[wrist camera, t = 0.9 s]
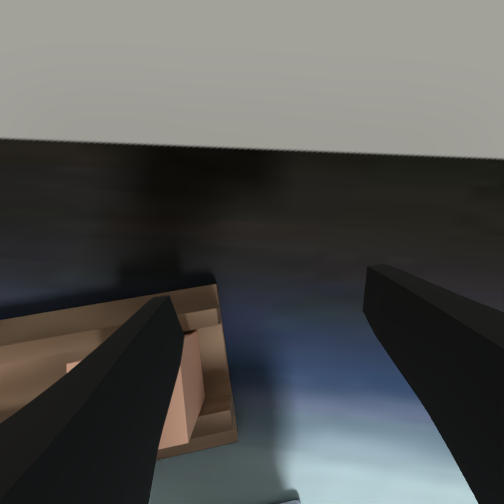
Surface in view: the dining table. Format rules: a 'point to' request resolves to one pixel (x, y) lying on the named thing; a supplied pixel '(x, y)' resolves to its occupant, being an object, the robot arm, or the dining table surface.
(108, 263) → the dining table surface
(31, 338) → the brown wooden tray
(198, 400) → the terracotta block
